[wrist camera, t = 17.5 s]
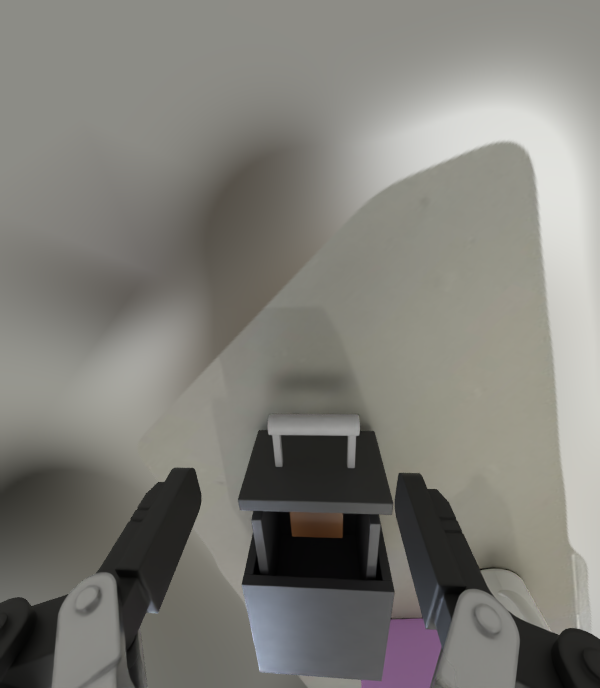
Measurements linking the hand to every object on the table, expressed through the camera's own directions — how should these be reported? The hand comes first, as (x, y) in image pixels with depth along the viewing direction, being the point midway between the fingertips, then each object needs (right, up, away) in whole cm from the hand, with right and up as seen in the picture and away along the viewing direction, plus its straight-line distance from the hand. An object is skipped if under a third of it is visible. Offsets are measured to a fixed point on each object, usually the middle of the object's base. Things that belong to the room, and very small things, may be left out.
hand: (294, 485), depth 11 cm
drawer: (+2, -7, +19) cm, 20 cm away
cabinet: (+3, -18, +24) cm, 30 cm away
